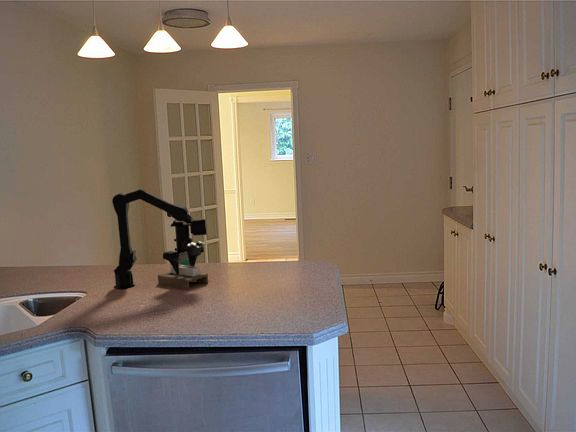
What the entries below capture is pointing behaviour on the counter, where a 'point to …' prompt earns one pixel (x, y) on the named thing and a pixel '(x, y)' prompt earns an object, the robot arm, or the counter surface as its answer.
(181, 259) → the food container
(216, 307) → the counter surface
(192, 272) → the power strip
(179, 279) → the keyhole board
